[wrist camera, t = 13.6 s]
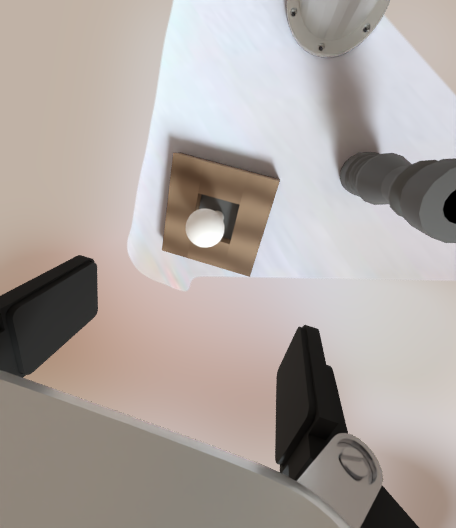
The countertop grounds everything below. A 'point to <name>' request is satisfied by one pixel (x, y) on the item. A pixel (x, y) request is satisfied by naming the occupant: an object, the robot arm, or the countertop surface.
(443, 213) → the candle holder
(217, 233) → the lightbulb
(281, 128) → the countertop surface
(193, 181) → the socket block
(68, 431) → the robot arm
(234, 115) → the countertop surface
